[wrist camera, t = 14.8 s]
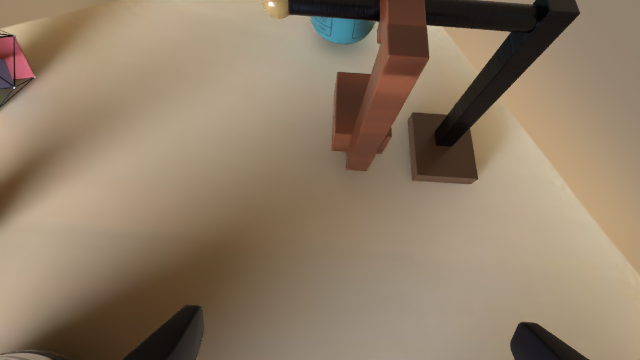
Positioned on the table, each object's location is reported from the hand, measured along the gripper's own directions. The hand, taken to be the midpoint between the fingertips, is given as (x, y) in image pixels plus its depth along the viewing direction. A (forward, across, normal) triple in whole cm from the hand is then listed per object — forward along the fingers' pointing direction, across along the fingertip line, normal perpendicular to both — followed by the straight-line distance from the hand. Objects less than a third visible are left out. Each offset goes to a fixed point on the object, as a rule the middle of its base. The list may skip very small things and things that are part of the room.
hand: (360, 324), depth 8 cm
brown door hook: (+18, -2, -1) cm, 18 cm away
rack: (+19, -3, 0) cm, 19 cm away
